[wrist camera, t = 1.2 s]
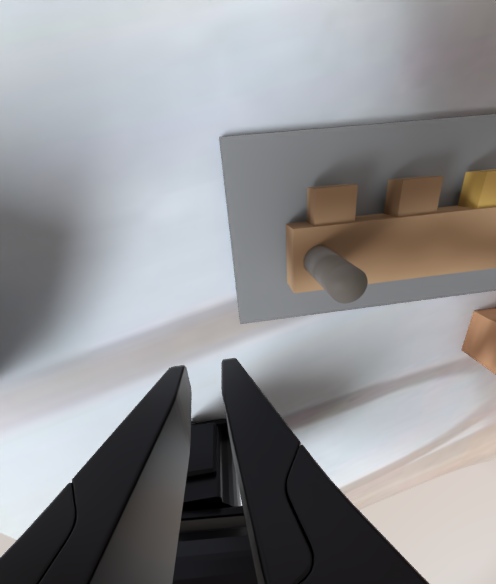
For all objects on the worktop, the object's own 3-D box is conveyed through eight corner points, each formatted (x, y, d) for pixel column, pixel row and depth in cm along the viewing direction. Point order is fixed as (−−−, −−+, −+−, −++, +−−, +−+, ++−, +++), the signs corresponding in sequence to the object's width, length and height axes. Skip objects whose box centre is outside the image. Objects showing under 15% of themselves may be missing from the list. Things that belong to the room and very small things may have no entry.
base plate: (544, 281, 21) (549, 283, 21) (239, 321, 20) (240, 323, 19) (619, 104, 16) (628, 102, 16) (219, 138, 15) (219, 137, 14)
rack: (476, 259, 19) (575, 292, 14) (287, 282, 18) (316, 327, 13) (503, 168, 16) (637, 165, 11) (284, 189, 16) (319, 197, 10)
